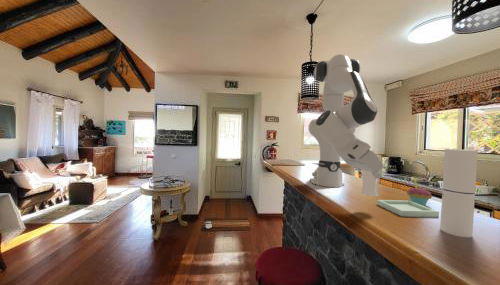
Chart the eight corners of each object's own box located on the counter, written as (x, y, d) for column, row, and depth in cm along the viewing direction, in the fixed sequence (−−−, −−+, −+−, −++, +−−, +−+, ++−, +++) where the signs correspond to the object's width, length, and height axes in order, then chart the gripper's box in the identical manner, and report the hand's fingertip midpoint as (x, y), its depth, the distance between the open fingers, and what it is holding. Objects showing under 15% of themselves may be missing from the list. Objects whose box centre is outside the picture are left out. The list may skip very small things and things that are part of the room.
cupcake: (412, 206, 94) (414, 177, 93) (402, 200, 102) (404, 174, 102) (435, 208, 92) (437, 179, 92) (423, 202, 100) (425, 175, 100)
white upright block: (375, 194, 87) (377, 156, 88) (384, 197, 80) (385, 155, 82) (356, 192, 88) (358, 154, 89) (364, 194, 81) (366, 153, 82)
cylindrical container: (451, 236, 64) (456, 149, 64) (434, 226, 71) (439, 148, 71) (479, 238, 63) (485, 150, 63) (459, 228, 70) (464, 149, 70)
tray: (377, 204, 94) (377, 199, 94) (408, 205, 95) (409, 200, 95) (401, 216, 80) (402, 210, 80) (438, 217, 81) (438, 211, 81)
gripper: (331, 151, 94) (352, 175, 95) (357, 156, 74) (383, 187, 75) (342, 141, 94) (363, 165, 95) (371, 144, 74) (397, 174, 75)
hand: (372, 175), depth 85 cm, fingers closed on white upright block, 6 cm apart
